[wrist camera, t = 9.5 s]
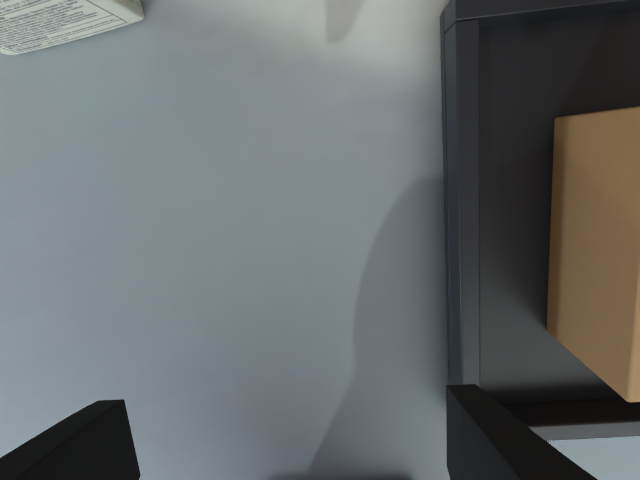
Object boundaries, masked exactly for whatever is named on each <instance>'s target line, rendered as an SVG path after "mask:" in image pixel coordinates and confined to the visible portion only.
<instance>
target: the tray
mask: <svg viewBox="0 0 640 480" xmlns="http://www.w3.org/2000/svg"><path fill="white" fill-rule="evenodd" d="M440 40H441V82H442V124H443V166H444V207H445V249H446V291H447V333H448V375H449V385H463V384H476V385H477V386H479V387H480V388H481V389H482V390H484V391H485V392H486V393H487V394H488V395H490V396H491V397H492V398H493V399H494V400H496V401H497V402H498V403H499V404H500V405H502V406H503V407H504V408H505V409H507V410H508V411H509V412H510V413H511V414H513V415H514V416H515V417H516V418H518V419H519V420H520V421H521V422H522V423H524V424H525V425H526V426H527V427H529V428H530V429H531V430H532V431H534V432H535V433H536V434H537V435H539V436H540V437H541V438H542V439H544V440H545V441H548V440H568V439H588V438H608V437H628V436H640V402H627V401H626V400H625V399H624V398H622V397H621V396H620V395H619V394H618V393H617V392H616V391H614V390H613V389H612V388H611V387H610V386H609V385H608V384H607V383H605V382H604V381H603V380H602V379H601V378H600V377H599V376H597V375H596V374H595V373H594V372H593V371H592V370H591V369H589V368H588V367H587V366H586V365H585V364H584V363H583V362H582V361H580V360H579V359H578V358H577V357H576V356H575V355H574V354H572V353H571V352H570V351H569V350H568V349H567V348H566V347H564V346H563V345H562V344H561V343H560V342H559V341H558V340H556V339H555V338H554V337H553V336H552V335H551V334H550V333H549V332H547V304H548V278H549V252H550V226H551V200H552V174H553V147H554V121H555V118H557V117H562V116H570V115H578V114H585V113H593V112H600V111H608V110H616V109H623V108H631V107H638V106H640V0H451V2H450V3H449V4H448V5H447V7H446V8H445V9H444V11H443V12H442V13H441V15H440Z"/></svg>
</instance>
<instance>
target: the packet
mask: <svg viewBox="0 0 640 480" xmlns="http://www.w3.org/2000/svg"><path fill="white" fill-rule="evenodd" d="M547 332H549V333H550V334H551V335H552V336H553V337H554V338H555V339H556V340H558V341H559V342H560V343H561V344H562V345H563V346H564V347H566V348H567V349H568V350H569V351H570V352H571V353H572V354H574V355H575V356H576V357H577V358H578V359H579V360H580V361H582V362H583V363H584V364H585V365H586V366H587V367H588V368H589V369H591V370H592V371H593V372H594V373H595V374H596V375H597V376H599V377H600V378H601V379H602V380H603V381H604V382H605V383H607V384H608V385H609V386H610V387H611V388H612V389H613V390H614V391H616V392H617V393H618V394H619V395H620V396H621V397H622V398H624V399H625V400H626V401H627V402H640V106H638V107H631V108H623V109H616V110H608V111H600V112H593V113H585V114H578V115H570V116H562V117H557V118H555V121H554V147H553V174H552V200H551V226H550V252H549V278H548V304H547Z"/></svg>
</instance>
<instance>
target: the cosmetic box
mask: <svg viewBox="0 0 640 480" xmlns="http://www.w3.org/2000/svg"><path fill="white" fill-rule="evenodd" d="M143 19H144V13H143V9H142V5H141V1H140V0H0V53H4V54H8V55H17V54H21V53H26V52H31V51H35V50H39V49H44V48H47V47H52V46H55V45H59V44H63V43H67V42H71V41H74V40H78V39H81V38H85V37H89V36H92V35H96V34H99V33H102V32H106V31H109V30H113V29H116V28H119V27H122V26H125V25H129V24H132V23H135V22H138V21H141V20H143Z"/></svg>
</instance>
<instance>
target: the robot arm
mask: <svg viewBox="0 0 640 480" xmlns="http://www.w3.org/2000/svg"><path fill="white" fill-rule="evenodd" d="M446 405H447V468H448V472H449V475H450V479H451V480H597V479H596V478H595V477H593V476H592V475H590V474H589V473H588V472H586V471H585V470H583V469H582V468H581V467H579V466H578V465H577V464H575V463H574V462H573V461H571V460H570V459H569V458H567V457H566V456H565V455H563V454H562V453H561V452H559V451H558V450H557V449H555V448H554V447H553V446H551V445H550V444H549V443H548V442H546V441H545V440H544V439H542V438H541V437H540V436H539V435H537V434H536V433H535V432H534V431H532V430H531V429H530V428H529V427H527V426H526V425H525V424H524V423H522V422H521V421H520V420H519V419H518V418H516V417H515V416H514V415H513V414H511V413H510V412H509V411H508V410H507V409H505V408H504V407H503V406H502V405H500V404H499V403H498V402H497V401H496V400H494V399H493V398H492V397H491V396H490V395H488V394H487V393H486V392H485V391H484V390H482V389H481V388H480V387H479V386H477V385H476V384H463V385H446ZM139 478H140V471H139V466H138V461H137V457H136V452H135V448H134V443H133V438H132V434H131V429H130V425H129V420H128V416H127V411H126V406H125V402H124V400H103V401H97V402H95V403H93V404H91V405H89V406H87V407H85V408H83V409H81V410H79V411H78V412H76V413H74V414H72V415H71V416H69V417H67V418H66V419H64V420H62V421H60V422H59V423H57V424H55V425H54V426H52V427H50V428H49V429H47V430H46V431H44V432H42V433H41V434H39V435H37V436H36V437H34V438H32V439H31V440H29V441H27V442H26V443H24V444H23V445H21V446H19V447H18V448H16V449H14V450H13V451H11V452H9V453H8V454H6V455H4V456H3V457H1V458H0V480H139Z"/></svg>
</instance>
